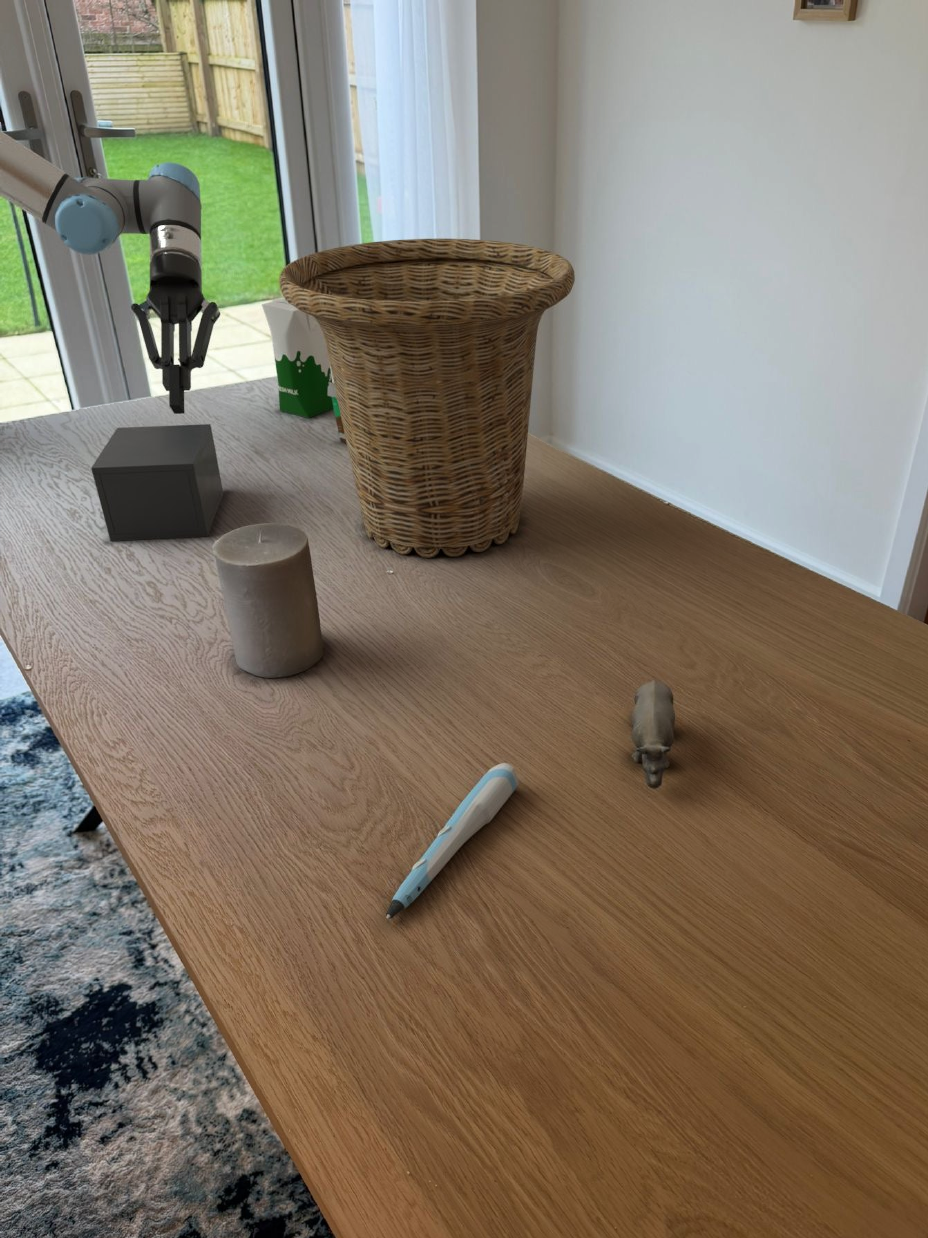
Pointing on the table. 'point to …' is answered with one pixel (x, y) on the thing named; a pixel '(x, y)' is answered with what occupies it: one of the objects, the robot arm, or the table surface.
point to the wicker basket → (433, 378)
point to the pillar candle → (270, 599)
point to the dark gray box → (159, 482)
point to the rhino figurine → (653, 729)
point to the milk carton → (299, 359)
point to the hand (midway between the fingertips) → (176, 409)
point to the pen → (457, 832)
